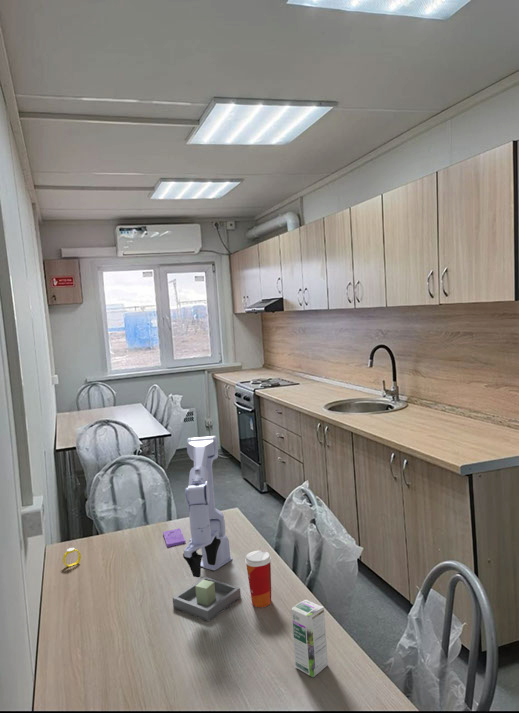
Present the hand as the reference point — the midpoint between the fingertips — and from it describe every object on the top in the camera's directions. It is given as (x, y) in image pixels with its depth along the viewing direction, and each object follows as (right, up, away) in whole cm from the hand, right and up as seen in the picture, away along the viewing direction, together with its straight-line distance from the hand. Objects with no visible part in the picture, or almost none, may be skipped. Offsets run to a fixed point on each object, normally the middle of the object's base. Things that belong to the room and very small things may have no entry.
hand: (204, 570), depth 153 cm
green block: (0, -9, +1) cm, 9 cm away
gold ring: (-50, -12, +33) cm, 61 cm away
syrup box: (+28, -10, -31) cm, 43 cm away
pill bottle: (+17, -9, -2) cm, 19 cm away
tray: (+1, -10, +1) cm, 10 cm away
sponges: (-17, -8, +48) cm, 51 cm away
